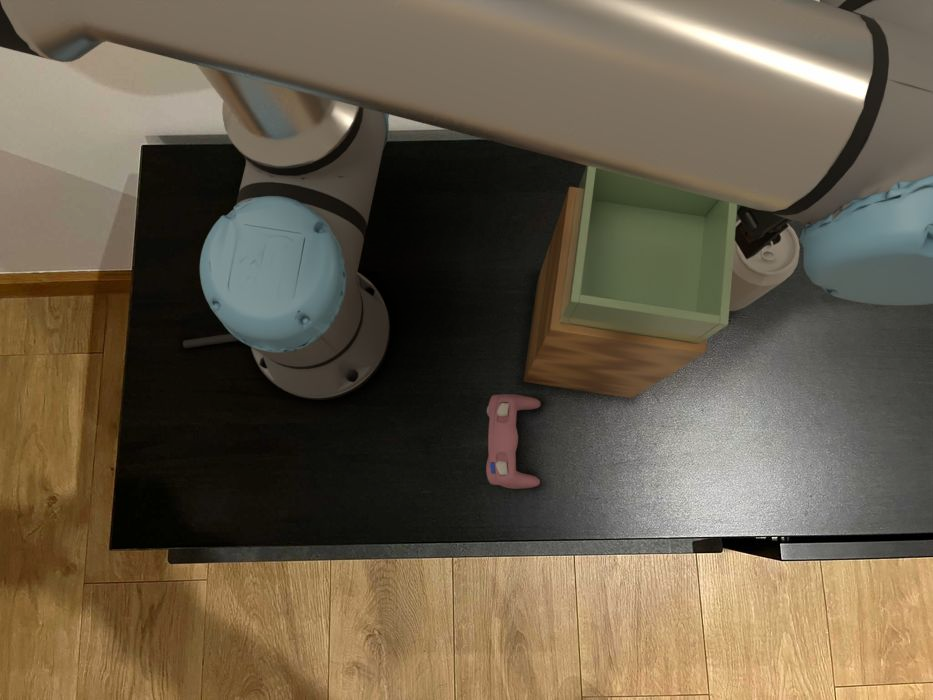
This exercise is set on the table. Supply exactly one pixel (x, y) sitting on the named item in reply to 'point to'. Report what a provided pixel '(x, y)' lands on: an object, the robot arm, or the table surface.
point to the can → (762, 268)
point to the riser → (592, 338)
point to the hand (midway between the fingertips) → (809, 211)
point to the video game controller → (507, 441)
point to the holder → (648, 259)
